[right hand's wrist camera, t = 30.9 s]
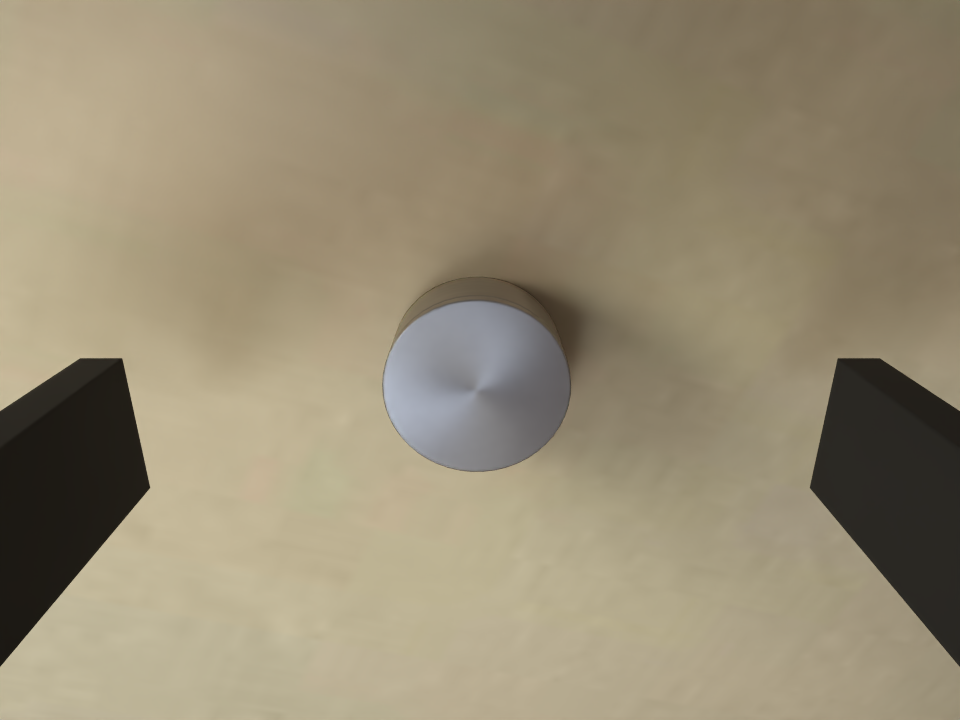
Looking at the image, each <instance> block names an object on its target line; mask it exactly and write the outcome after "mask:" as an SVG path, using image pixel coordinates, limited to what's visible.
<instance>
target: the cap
mask: <svg viewBox="0 0 960 720" xmlns="http://www.w3.org/2000/svg"><path fill="white" fill-rule="evenodd" d="M382 387H383V398H384V403H385V407H386V410H387V413H388V415H389V418H390V420H391V422H392V424H393V426H394V427H395V429H396V430H397V432H398V433H399V435H400V436H401V437H402V438H403V439H404V440H405V442H406V443H407V444H408V445H409V446H410V447H412V448H413V449H414V450H415V451H416V452H418V453H419V454H421V455H422V456H424V457H425V458H427V459H429V460H431V461H433V462H435V463H437V464H439V465H442V466H445V467H448V468H452V469H456V470H461V471H470V472H484V471H492V470H498V469H502V468H506V467H509V466H512V465H514V464H517V463H519V462H521V461H523V460H525V459H527V458H529V457H530V456H532V455H533V454H535V453H536V452H537V451H539V450H540V449H541V448H542V447H543V446H544V445H546V443H547V442H548V441H549V440H550V439H551V438H552V437H553V436H554V434H555V433H556V431H557V430H558V428H559V427H560V425H561V423H562V421H563V419H564V417H565V414H566V411H567V409H568V405H569V400H570V395H571V378H570V370H569V366H568V362H567V359H566V356H565V353H564V350H563V347H562V344H561V341H560V338H559V334H558V332H557V329H556V327H555V324H554V322H553V321H552V319H551V317H550V315H549V314H548V312H547V311H546V310H545V309H544V307H543V306H542V305H541V304H540V303H539V302H538V301H537V300H536V299H535V298H534V297H533V296H531V295H530V294H529V293H527V292H526V291H524V290H522V289H521V288H519V287H517V286H515V285H513V284H510V283H508V282H505V281H501V280H497V279H493V278H485V277H469V278H461V279H456V280H453V281H449V282H446V283H444V284H441V285H439V286H437V287H435V288H433V289H432V290H430V291H428V292H427V293H425V294H424V295H423V296H422V297H420V298H419V299H418V300H417V301H416V302H415V303H414V304H413V305H412V306H411V307H410V309H409V310H408V311H407V313H406V314H405V315H404V317H403V319H402V321H401V323H400V324H399V327H398V330H397V332H396V335H395V338H394V341H393V343H392V346H391V349H390V352H389V355H388V357H387V360H386V363H385V368H384V372H383V383H382Z"/></svg>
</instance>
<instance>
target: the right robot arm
mask: <svg viewBox="0 0 960 720" xmlns="http://www.w3.org/2000/svg"><path fill="white" fill-rule="evenodd" d="M149 489H150V485H149V480H148V476H147V471H146V466H145V462H144V457H143V453H142V448H141V443H140V439H139V434H138V429H137V425H136V420H135V416H134V411H133V406H132V402H131V397H130V392H129V388H128V383H127V378H126V374H125V369H124V365H123V360H122V358H80V359H79V360H77V361H76V362H74V363H73V364H71V365H70V366H68V367H67V368H65V369H63V370H62V371H60V372H59V373H57V374H56V375H54V376H53V377H51V378H50V379H48V380H47V381H45V382H44V383H42V384H41V385H39V386H38V387H36V388H35V389H33V390H32V391H30V392H29V393H27V394H26V395H24V396H23V397H21V398H20V399H18V400H17V401H15V402H13V403H12V404H10V405H9V406H7V407H6V408H4V409H3V410H1V411H0V666H1V665H2V664H3V663H4V662H5V660H6V659H7V658H8V657H9V656H10V654H11V653H12V652H13V651H14V650H15V648H16V647H17V646H18V645H19V644H20V642H21V641H22V640H23V639H24V638H25V636H26V635H27V634H28V633H29V632H30V631H31V629H32V628H33V627H34V626H35V625H36V623H37V622H38V621H39V620H40V619H41V617H42V616H43V615H44V614H45V613H46V611H47V610H48V609H49V608H50V607H51V605H52V604H53V603H54V602H55V601H56V600H57V598H58V597H59V596H60V595H61V594H62V592H63V591H64V590H65V589H66V588H67V586H68V585H69V584H70V583H71V582H72V580H73V579H74V578H75V577H76V576H77V574H78V573H79V572H80V571H81V570H82V569H83V567H84V566H85V565H86V564H87V563H88V561H89V560H90V559H91V558H92V557H93V555H94V554H95V553H96V552H97V551H98V549H99V548H100V547H101V546H102V545H103V543H104V542H105V541H106V540H107V539H108V538H109V536H110V535H111V534H112V533H113V532H114V530H115V529H116V528H117V527H118V526H119V524H120V523H121V522H122V521H123V520H124V518H125V517H126V516H127V515H128V514H129V512H130V511H131V510H132V509H133V508H134V506H135V505H136V504H137V503H138V502H139V501H140V499H141V498H142V497H143V496H144V495H145V493H146V492H147V491H148V490H149ZM810 489H811V490H812V491H813V492H814V493H815V495H816V496H817V497H818V498H819V499H820V501H821V502H822V503H823V504H824V505H825V506H826V508H827V509H828V510H829V511H830V512H831V514H832V515H833V516H834V517H835V518H836V520H837V521H838V522H839V523H840V524H841V526H842V527H843V528H844V529H845V530H846V532H847V533H848V534H849V535H850V536H851V538H852V539H853V540H854V541H855V542H856V543H857V545H858V546H859V547H860V548H861V549H862V551H863V552H864V553H865V554H866V555H867V557H868V558H869V559H870V560H871V561H872V563H873V564H874V565H875V566H876V567H877V569H878V570H879V571H880V572H881V573H882V574H883V576H884V577H885V578H886V579H887V580H888V582H889V583H890V584H891V585H892V586H893V588H894V589H895V590H896V591H897V592H898V594H899V595H900V596H901V597H902V598H903V600H904V601H905V602H906V603H907V604H908V605H909V607H910V608H911V609H912V610H913V611H914V613H915V614H916V615H917V616H918V617H919V619H920V620H921V621H922V622H923V623H924V625H925V626H926V627H927V628H928V629H929V631H930V632H931V633H932V634H933V635H934V636H935V638H936V639H937V640H938V641H939V642H940V644H941V645H942V646H943V647H944V648H945V650H946V651H947V652H948V653H949V654H950V656H951V657H952V658H953V659H954V660H955V662H956V663H957V664H958V665H959V666H960V411H959V410H957V409H956V408H954V407H953V406H951V405H950V404H948V403H947V402H945V401H943V400H942V399H940V398H939V397H937V396H936V395H934V394H933V393H931V392H930V391H928V390H927V389H925V388H924V387H922V386H921V385H919V384H918V383H916V382H915V381H913V380H912V379H910V378H909V377H907V376H906V375H904V374H903V373H901V372H900V371H898V370H897V369H895V368H894V367H892V366H890V365H889V364H887V363H886V362H884V361H883V360H881V359H880V358H838V360H837V365H836V369H835V374H834V378H833V383H832V388H831V392H830V397H829V402H828V406H827V411H826V416H825V420H824V425H823V429H822V434H821V439H820V443H819V448H818V453H817V457H816V462H815V467H814V471H813V476H812V480H811V485H810Z"/></svg>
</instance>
